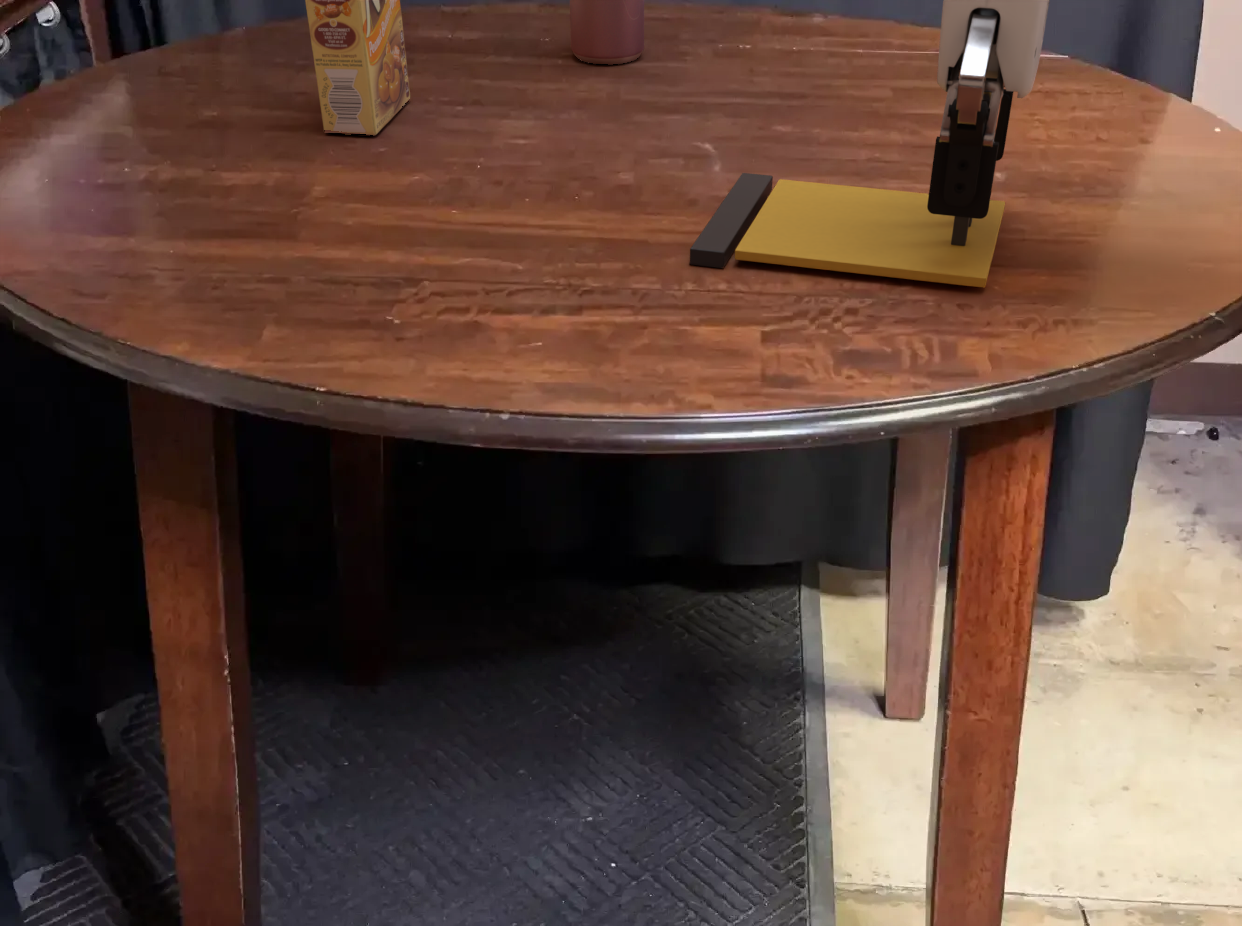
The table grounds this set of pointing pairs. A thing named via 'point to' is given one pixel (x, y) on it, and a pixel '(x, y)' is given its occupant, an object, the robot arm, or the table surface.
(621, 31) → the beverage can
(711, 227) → the bar
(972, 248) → the sign
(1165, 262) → the table surface
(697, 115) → the table surface
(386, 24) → the candy box
